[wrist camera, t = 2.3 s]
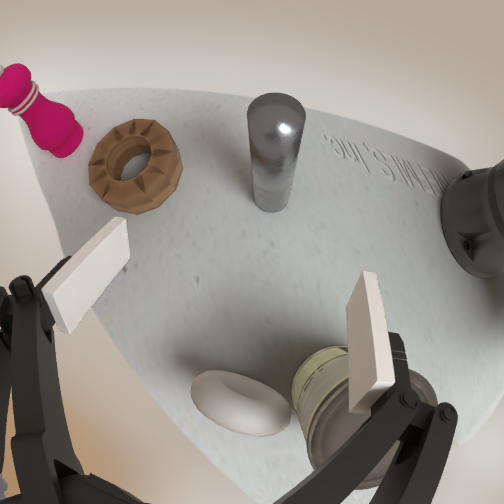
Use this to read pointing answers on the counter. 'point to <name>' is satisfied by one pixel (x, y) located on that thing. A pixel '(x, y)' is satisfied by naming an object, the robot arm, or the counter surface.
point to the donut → (240, 403)
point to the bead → (149, 180)
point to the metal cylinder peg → (274, 147)
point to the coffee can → (338, 408)
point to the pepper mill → (39, 112)
